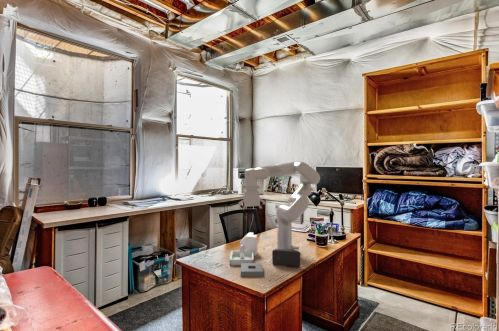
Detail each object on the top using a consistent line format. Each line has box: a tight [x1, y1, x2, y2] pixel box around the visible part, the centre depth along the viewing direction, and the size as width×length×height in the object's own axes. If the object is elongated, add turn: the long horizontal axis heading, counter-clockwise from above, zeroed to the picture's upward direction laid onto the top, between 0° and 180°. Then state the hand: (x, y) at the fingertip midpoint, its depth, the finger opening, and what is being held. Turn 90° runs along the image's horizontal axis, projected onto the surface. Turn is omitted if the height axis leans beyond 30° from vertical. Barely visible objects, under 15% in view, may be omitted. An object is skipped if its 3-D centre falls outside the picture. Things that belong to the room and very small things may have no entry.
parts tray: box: [229, 250, 255, 266], centre depth 171 cm, size 14×16×4 cm
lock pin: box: [239, 244, 245, 259], centre depth 171 cm, size 3×3×9 cm
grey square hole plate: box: [240, 262, 264, 277], centre depth 154 cm, size 12×12×3 cm
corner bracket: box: [239, 232, 258, 256], centre depth 187 cm, size 11×11×12 cm
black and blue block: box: [271, 248, 301, 268], centre depth 164 cm, size 16×5×9 cm, turn 78°
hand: (252, 214), depth 178 cm, fingers open, 9 cm apart
